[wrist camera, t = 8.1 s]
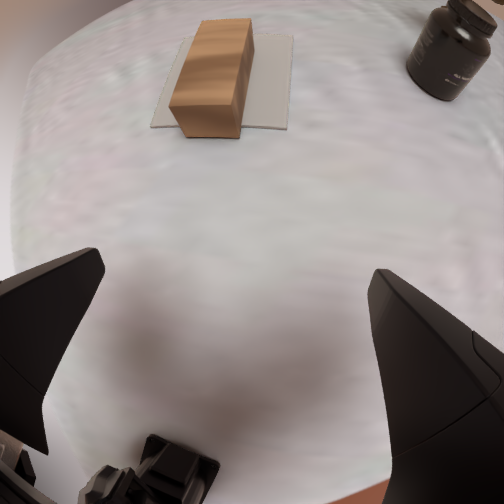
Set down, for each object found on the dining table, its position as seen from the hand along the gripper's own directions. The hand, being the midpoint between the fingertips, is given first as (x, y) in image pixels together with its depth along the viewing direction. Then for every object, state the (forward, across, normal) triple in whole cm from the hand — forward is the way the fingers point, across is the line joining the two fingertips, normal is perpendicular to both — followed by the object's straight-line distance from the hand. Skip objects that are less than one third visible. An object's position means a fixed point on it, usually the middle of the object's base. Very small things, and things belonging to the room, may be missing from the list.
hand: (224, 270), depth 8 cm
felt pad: (+22, -4, +5) cm, 23 cm away
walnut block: (+14, -4, +2) cm, 15 cm away
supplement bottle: (+24, +18, +7) cm, 31 cm away
